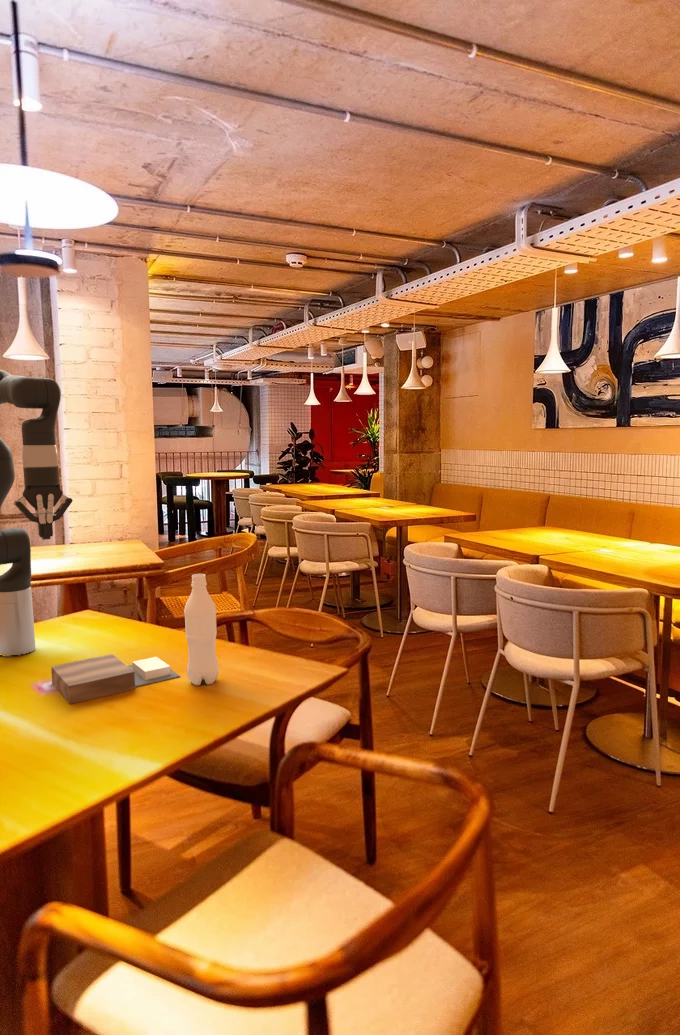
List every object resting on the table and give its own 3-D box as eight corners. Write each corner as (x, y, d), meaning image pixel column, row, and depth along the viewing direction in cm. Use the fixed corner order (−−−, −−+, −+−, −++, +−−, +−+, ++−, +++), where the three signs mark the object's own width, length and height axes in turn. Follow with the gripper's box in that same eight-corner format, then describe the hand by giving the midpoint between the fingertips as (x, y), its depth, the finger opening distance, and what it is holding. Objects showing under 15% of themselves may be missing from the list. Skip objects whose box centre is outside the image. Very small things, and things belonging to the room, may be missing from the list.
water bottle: (225, 678, 154) (221, 573, 151) (206, 689, 147) (201, 579, 145) (200, 674, 157) (195, 571, 154) (180, 684, 150) (175, 576, 148)
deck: (52, 683, 153) (51, 666, 153) (113, 669, 161) (112, 654, 161) (69, 704, 140) (68, 686, 140) (135, 688, 148) (134, 671, 148)
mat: (113, 669, 161) (113, 668, 161) (156, 660, 168) (156, 659, 168) (133, 687, 149) (133, 686, 149) (180, 676, 156) (179, 675, 156)
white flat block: (156, 656, 164) (156, 664, 164) (132, 661, 160) (132, 669, 160) (170, 666, 156) (170, 674, 157) (145, 671, 153) (145, 680, 153)
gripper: (66, 463, 160) (71, 534, 162) (6, 465, 152) (12, 540, 154) (75, 464, 154) (79, 538, 156) (12, 466, 146) (18, 543, 148)
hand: (46, 538), depth 155 cm, fingers closed
